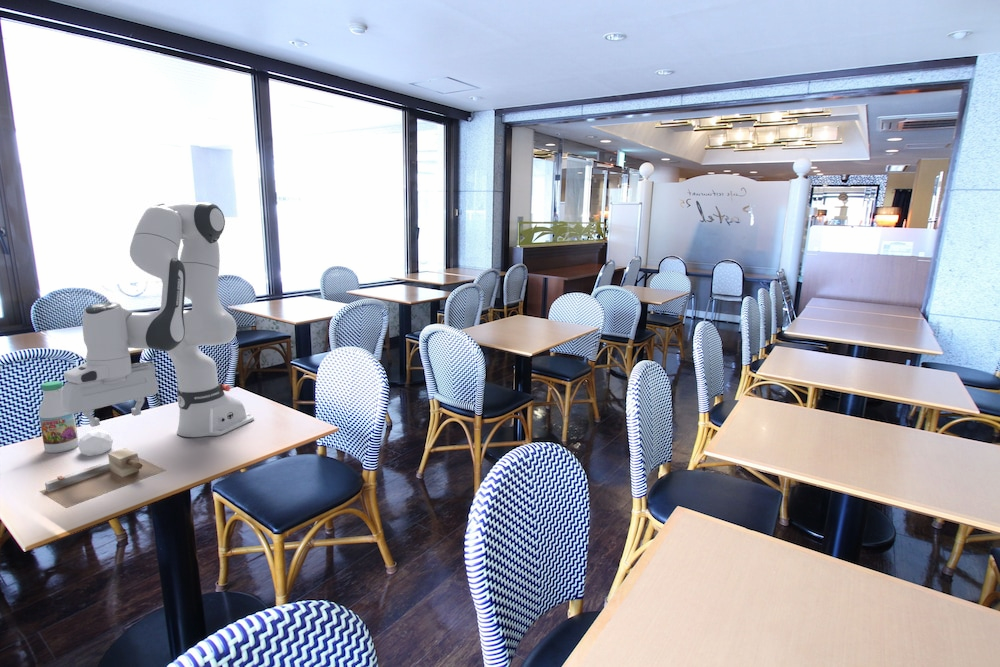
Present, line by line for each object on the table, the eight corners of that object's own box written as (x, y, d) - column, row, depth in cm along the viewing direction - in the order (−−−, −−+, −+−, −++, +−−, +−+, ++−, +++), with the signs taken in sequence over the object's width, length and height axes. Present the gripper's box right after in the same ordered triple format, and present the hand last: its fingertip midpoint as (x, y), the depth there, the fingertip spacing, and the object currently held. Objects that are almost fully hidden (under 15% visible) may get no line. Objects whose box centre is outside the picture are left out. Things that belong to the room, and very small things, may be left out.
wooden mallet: (127, 465, 141) (124, 448, 140) (149, 475, 135) (147, 458, 134) (110, 471, 137) (107, 453, 136) (132, 482, 132) (130, 464, 131)
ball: (102, 466, 148) (96, 452, 143) (74, 456, 148) (67, 442, 142) (121, 444, 154) (117, 430, 149) (94, 435, 153) (89, 420, 148)
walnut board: (138, 462, 146) (137, 449, 145) (166, 475, 139) (165, 462, 138) (40, 496, 127) (38, 482, 126) (67, 513, 120) (64, 498, 119)
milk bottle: (46, 446, 154) (35, 381, 150) (79, 440, 158) (69, 377, 154) (43, 456, 148) (31, 388, 144) (78, 449, 152) (67, 384, 148)
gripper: (147, 358, 142) (152, 406, 144) (55, 374, 124) (63, 429, 127) (160, 361, 139) (165, 411, 141) (67, 378, 121) (75, 435, 124)
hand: (116, 420), depth 134 cm, fingers open, 8 cm apart
